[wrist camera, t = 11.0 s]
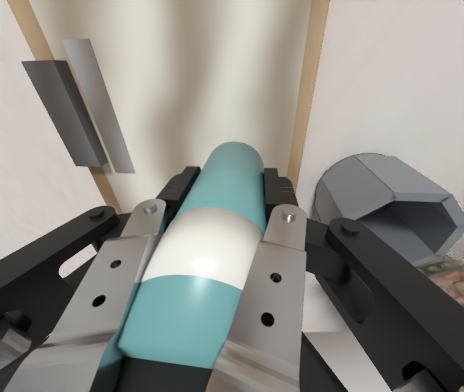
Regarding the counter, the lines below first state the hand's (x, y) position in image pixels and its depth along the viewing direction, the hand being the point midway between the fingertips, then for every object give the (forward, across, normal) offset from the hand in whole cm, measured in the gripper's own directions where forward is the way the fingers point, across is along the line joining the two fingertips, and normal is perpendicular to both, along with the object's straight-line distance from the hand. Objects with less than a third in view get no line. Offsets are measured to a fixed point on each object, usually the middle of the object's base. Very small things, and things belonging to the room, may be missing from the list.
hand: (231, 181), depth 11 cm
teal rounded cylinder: (+3, 0, 0) cm, 3 cm away
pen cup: (+5, -10, +3) cm, 11 cm away
